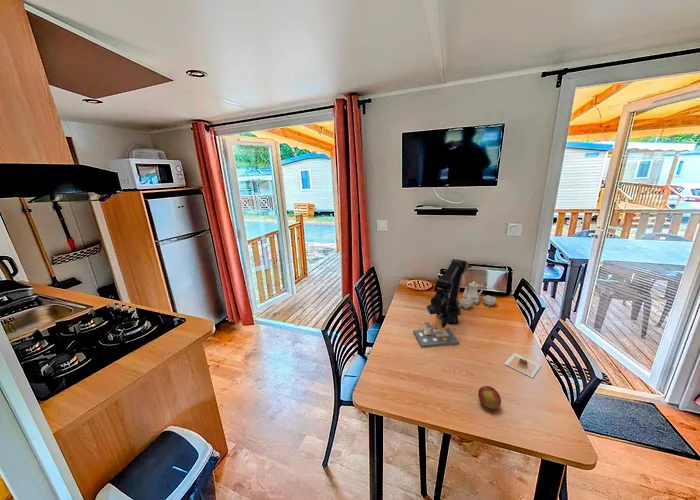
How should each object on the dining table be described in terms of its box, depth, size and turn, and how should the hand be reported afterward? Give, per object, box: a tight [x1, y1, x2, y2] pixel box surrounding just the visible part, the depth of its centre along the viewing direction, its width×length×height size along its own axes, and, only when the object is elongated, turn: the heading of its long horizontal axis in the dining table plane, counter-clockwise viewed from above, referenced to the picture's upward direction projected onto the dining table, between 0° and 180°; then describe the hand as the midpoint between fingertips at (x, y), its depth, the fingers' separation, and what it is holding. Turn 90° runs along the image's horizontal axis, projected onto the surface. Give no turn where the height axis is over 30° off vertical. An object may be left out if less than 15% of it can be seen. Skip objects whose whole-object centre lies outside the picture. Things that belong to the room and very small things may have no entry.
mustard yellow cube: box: [434, 314, 449, 329], centre depth 150 cm, size 5×5×6 cm
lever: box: [423, 321, 432, 335], centre depth 150 cm, size 3×4×6 cm
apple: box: [477, 385, 502, 410], centre depth 106 cm, size 8×8×8 cm
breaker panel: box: [412, 326, 460, 349], centre depth 149 cm, size 21×14×2 cm, turn 95°
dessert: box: [504, 352, 542, 378], centre depth 127 cm, size 12×12×5 cm
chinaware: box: [458, 280, 498, 310], centre depth 182 cm, size 28×17×17 cm, turn 104°
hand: (441, 324), depth 150 cm, fingers closed on mustard yellow cube, 5 cm apart
